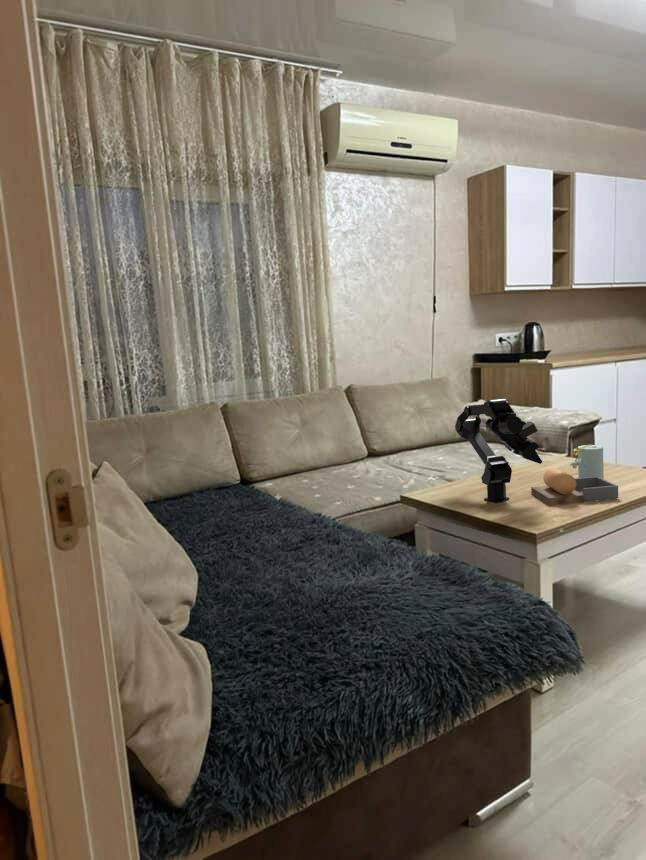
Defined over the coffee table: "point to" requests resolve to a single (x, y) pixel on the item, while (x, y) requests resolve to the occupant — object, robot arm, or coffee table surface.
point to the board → (556, 496)
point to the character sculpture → (589, 461)
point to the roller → (559, 481)
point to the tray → (596, 489)
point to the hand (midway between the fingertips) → (538, 461)
